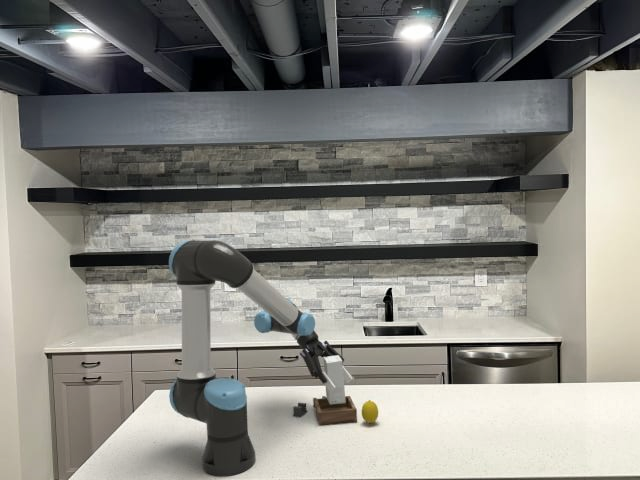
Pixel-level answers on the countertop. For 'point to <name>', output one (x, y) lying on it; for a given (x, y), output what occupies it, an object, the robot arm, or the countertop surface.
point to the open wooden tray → (335, 412)
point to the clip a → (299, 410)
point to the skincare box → (335, 379)
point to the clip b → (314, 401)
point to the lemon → (369, 411)
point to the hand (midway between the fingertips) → (341, 385)
